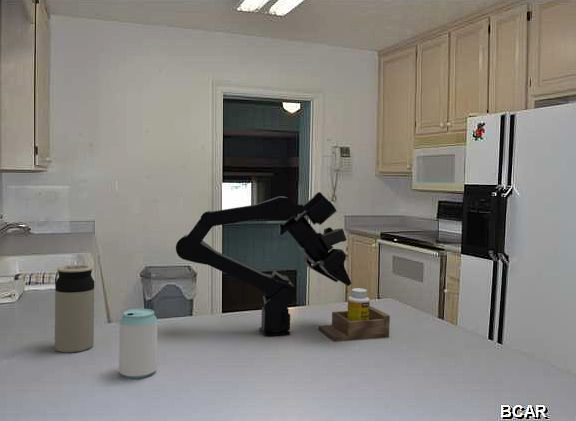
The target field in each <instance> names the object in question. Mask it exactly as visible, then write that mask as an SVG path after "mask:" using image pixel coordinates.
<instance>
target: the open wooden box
mask: <svg viewBox="0 0 576 421" xmlns="http://www.w3.org/2000/svg"><path fill="white" fill-rule="evenodd" d="M347 313H348V310H343V311H331V316H332V317H331V324H327V325H318V328H317V329H319V330H318V331H320V332H321V333H322V332H323V333H322V334H324V335H325V336H326V335H327V336H326V337H328V338H329V339H330V340H332V341H333V342H343V341H344V342H345V341H346V342H347V341H358V340H370V339H382V338H390V320H391V317H390V316H391V315H389V314H388V313H386V312H384V311H381V310H379V309H377V308H375V307H373V306H371V305H369V320H361V321H350V320H348V319H347Z"/></svg>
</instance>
